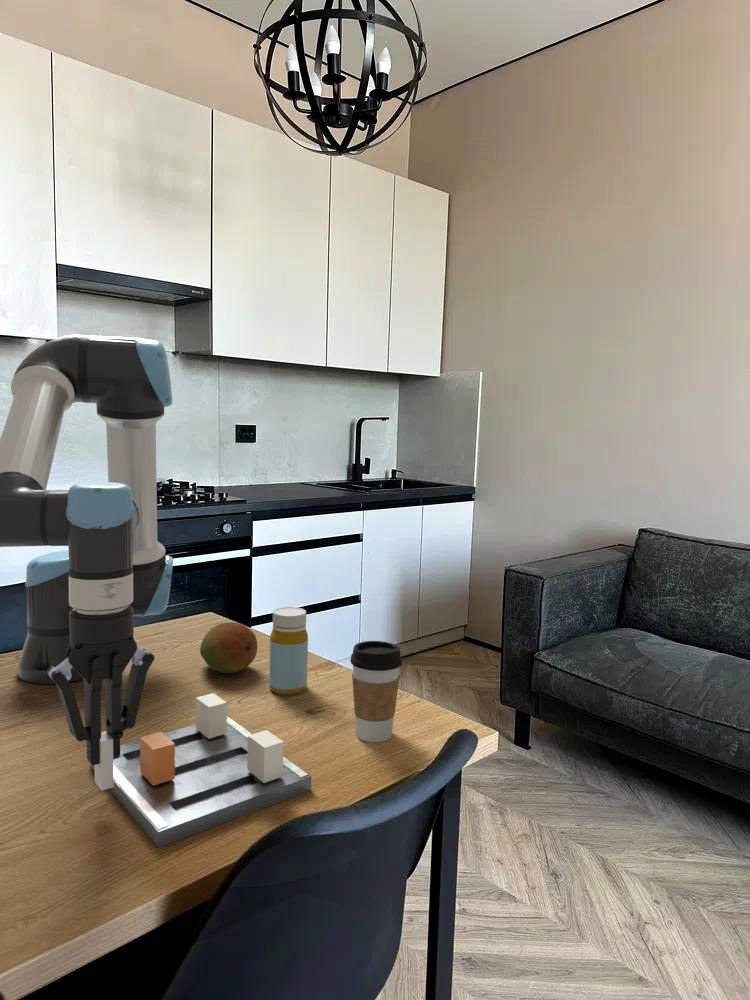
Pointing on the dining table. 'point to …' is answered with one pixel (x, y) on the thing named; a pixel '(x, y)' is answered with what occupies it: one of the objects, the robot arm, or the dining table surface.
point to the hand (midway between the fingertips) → (104, 784)
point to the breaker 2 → (265, 756)
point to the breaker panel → (199, 784)
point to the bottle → (288, 651)
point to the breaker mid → (157, 758)
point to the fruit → (229, 647)
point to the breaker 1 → (211, 716)
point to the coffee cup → (375, 688)
